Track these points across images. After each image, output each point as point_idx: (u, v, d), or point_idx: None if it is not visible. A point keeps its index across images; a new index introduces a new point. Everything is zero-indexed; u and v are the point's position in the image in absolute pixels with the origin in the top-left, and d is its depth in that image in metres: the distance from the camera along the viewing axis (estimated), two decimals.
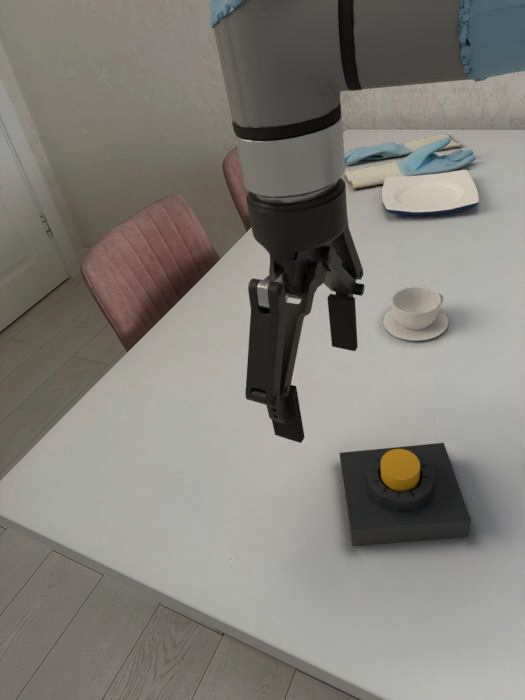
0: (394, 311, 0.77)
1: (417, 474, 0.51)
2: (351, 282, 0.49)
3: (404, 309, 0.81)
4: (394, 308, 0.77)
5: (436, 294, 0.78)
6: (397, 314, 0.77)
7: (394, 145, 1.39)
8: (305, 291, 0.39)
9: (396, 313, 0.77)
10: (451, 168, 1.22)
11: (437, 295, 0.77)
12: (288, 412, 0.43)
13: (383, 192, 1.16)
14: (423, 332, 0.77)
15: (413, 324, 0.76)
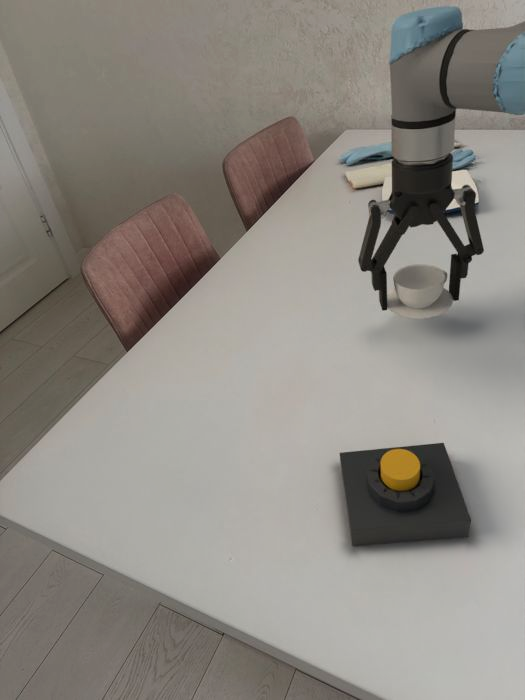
0: (396, 289, 0.75)
1: (417, 474, 0.51)
2: (462, 248, 0.70)
3: (406, 288, 0.78)
4: (396, 285, 0.74)
5: (440, 271, 0.75)
6: (399, 292, 0.74)
7: None
8: (402, 220, 0.67)
9: (398, 291, 0.74)
10: None
11: (441, 272, 0.74)
12: (379, 286, 0.75)
13: (383, 192, 1.16)
14: (427, 310, 0.74)
15: (416, 302, 0.73)
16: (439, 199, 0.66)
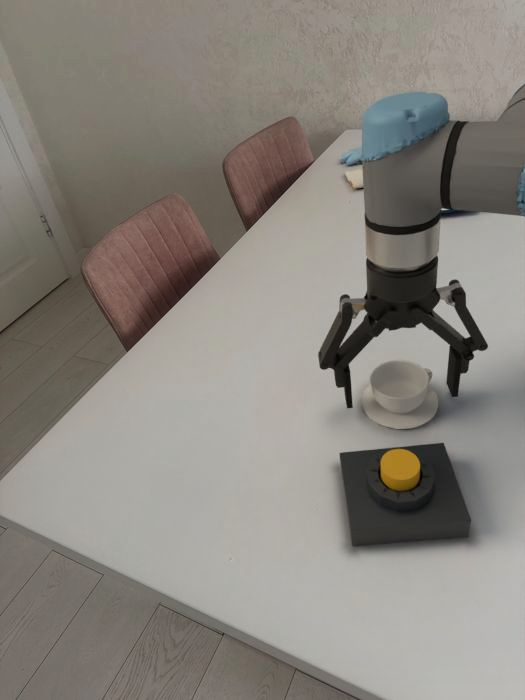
0: (373, 392, 0.65)
1: (417, 474, 0.51)
2: (461, 345, 0.60)
3: (386, 385, 0.68)
4: (373, 389, 0.64)
5: (423, 371, 0.65)
6: (377, 396, 0.64)
7: None
8: (377, 322, 0.57)
9: (376, 395, 0.64)
10: None
11: (425, 373, 0.65)
12: (343, 383, 0.64)
13: None
14: (408, 417, 0.65)
15: (396, 409, 0.64)
16: (422, 302, 0.56)
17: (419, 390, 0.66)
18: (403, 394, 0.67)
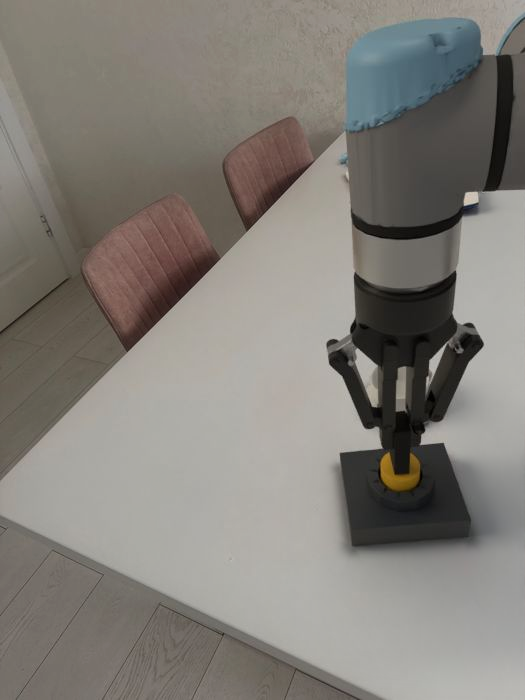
0: (373, 392, 0.65)
1: (417, 475, 0.51)
2: (420, 413, 0.46)
3: None
4: (373, 389, 0.64)
5: None
6: (377, 396, 0.64)
7: None
8: (382, 365, 0.42)
9: (376, 395, 0.64)
10: None
11: None
12: (391, 445, 0.49)
13: None
14: None
15: (396, 409, 0.64)
16: (432, 334, 0.40)
17: None
18: (403, 394, 0.67)
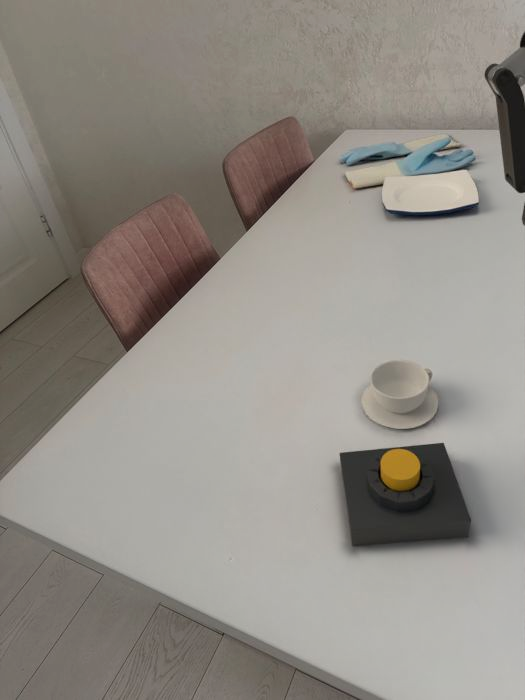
0: (373, 392, 0.65)
1: (417, 474, 0.51)
2: None
3: (386, 385, 0.68)
4: (373, 389, 0.64)
5: (424, 371, 0.65)
6: (377, 396, 0.64)
7: (394, 145, 1.39)
8: None
9: (376, 395, 0.64)
10: (451, 168, 1.22)
11: (425, 373, 0.65)
12: None
13: (383, 192, 1.16)
14: (408, 417, 0.65)
15: (396, 409, 0.64)
16: None
17: (419, 390, 0.66)
18: (403, 394, 0.67)
